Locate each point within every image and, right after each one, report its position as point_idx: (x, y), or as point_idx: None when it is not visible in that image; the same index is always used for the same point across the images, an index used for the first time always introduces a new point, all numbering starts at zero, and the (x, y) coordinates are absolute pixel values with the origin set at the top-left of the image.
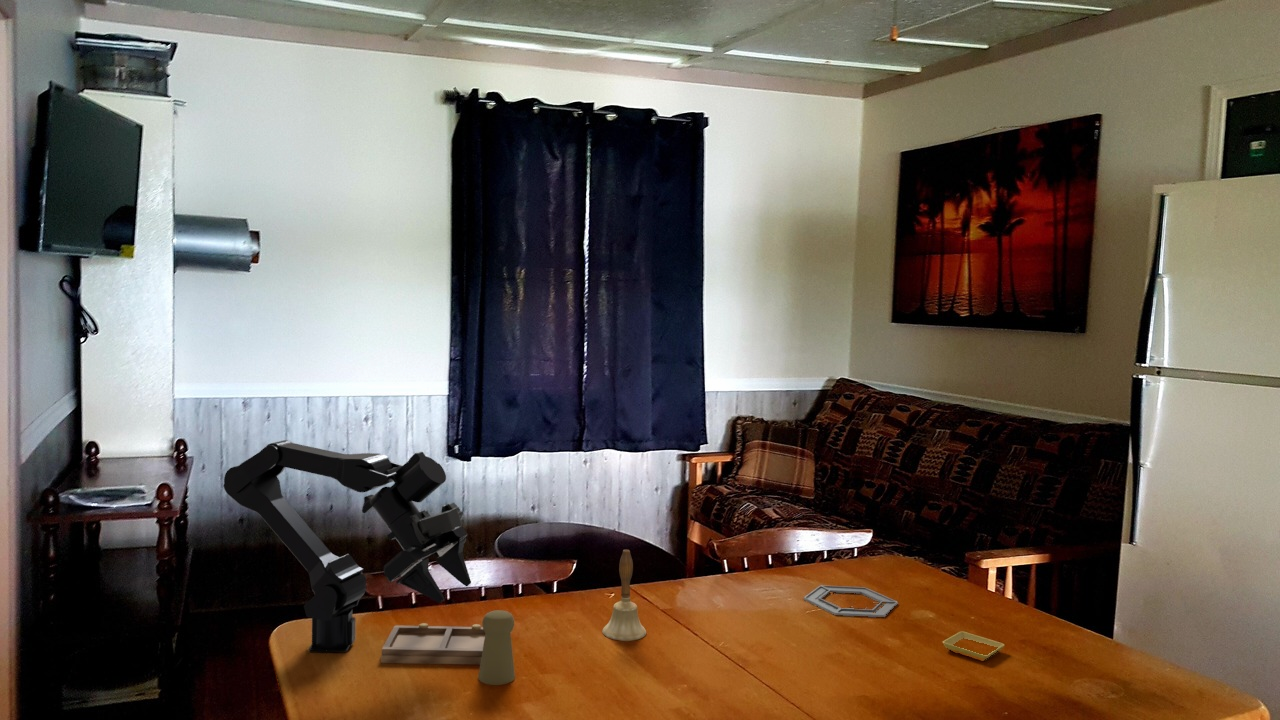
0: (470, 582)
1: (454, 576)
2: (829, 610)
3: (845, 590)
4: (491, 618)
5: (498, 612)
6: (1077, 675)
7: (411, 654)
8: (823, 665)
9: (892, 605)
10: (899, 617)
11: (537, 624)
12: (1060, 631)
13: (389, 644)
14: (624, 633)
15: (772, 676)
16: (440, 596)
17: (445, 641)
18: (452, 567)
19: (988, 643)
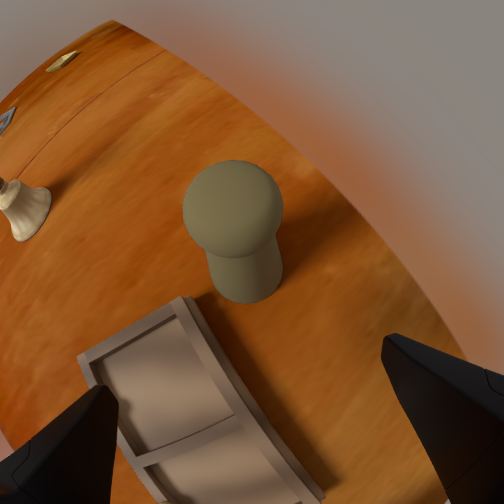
0: (100, 385)
1: (111, 475)
2: (4, 127)
3: None
4: (271, 189)
5: (225, 190)
6: (88, 40)
7: (288, 462)
8: (88, 76)
9: (3, 114)
10: (16, 104)
11: (30, 337)
12: (40, 67)
13: None
14: (42, 196)
15: (113, 78)
16: (412, 340)
17: (202, 436)
18: (85, 502)
19: (58, 62)
